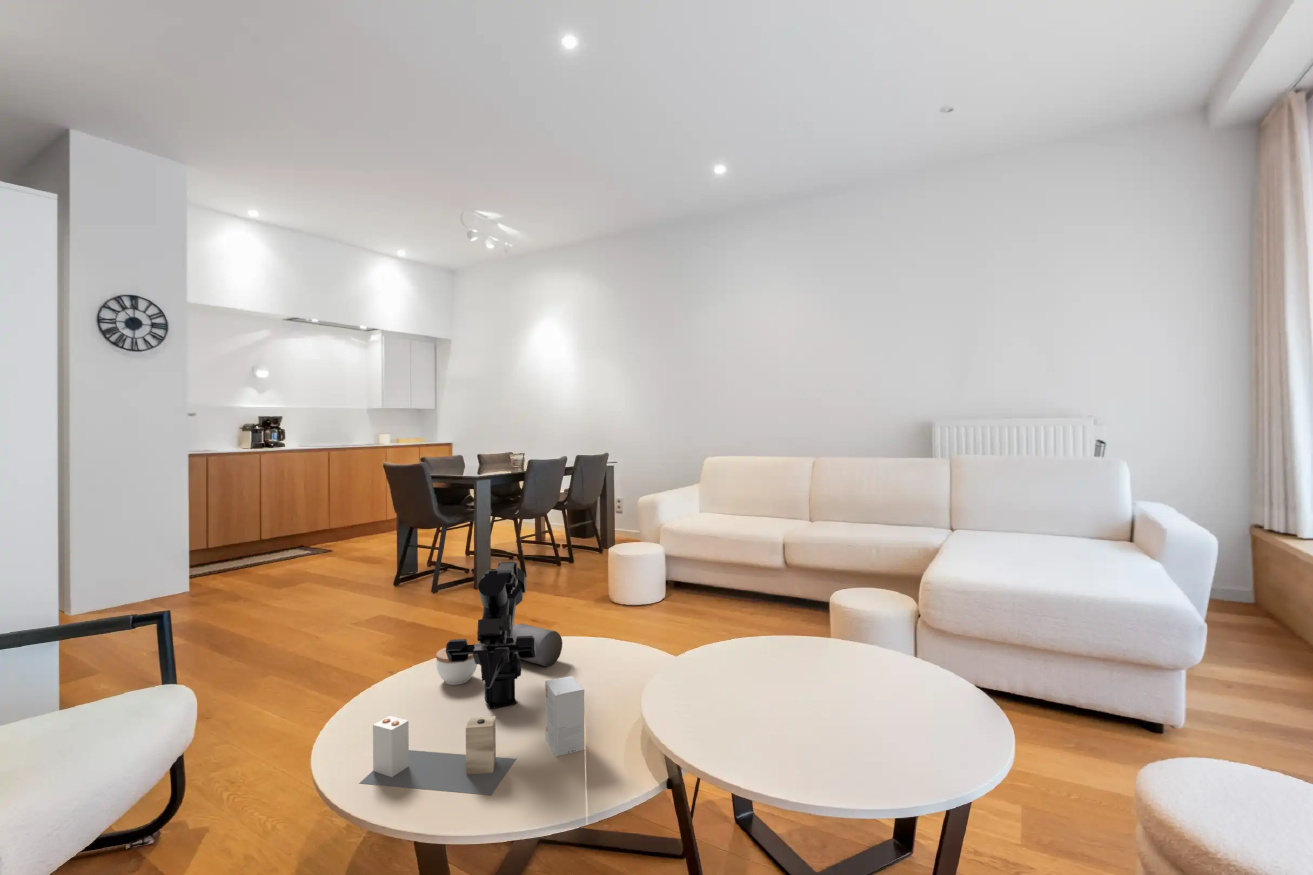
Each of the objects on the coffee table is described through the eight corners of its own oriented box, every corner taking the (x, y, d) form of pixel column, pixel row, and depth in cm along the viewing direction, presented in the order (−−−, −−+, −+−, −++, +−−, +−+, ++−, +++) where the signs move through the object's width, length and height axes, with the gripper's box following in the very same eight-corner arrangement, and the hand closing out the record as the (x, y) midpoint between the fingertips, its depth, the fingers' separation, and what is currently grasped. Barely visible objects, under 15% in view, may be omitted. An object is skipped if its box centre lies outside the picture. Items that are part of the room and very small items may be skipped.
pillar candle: (564, 657, 171) (527, 647, 179) (561, 625, 170) (524, 617, 178) (540, 672, 163) (503, 661, 171) (537, 639, 162) (499, 629, 170)
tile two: (390, 760, 117) (389, 714, 117) (408, 766, 115) (408, 719, 115) (373, 770, 113) (372, 723, 113) (391, 777, 111) (391, 728, 111)
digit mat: (516, 761, 118) (516, 758, 118) (491, 798, 106) (491, 794, 106) (396, 751, 121) (396, 748, 121) (359, 786, 109) (359, 783, 109)
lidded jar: (458, 669, 164) (458, 635, 164) (486, 676, 159) (486, 642, 159) (427, 683, 155) (426, 648, 155) (456, 691, 150) (456, 655, 150)
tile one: (469, 762, 116) (469, 716, 116) (495, 761, 117) (495, 714, 117) (466, 774, 112) (465, 726, 112) (492, 772, 113) (492, 724, 113)
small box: (585, 752, 121) (584, 689, 121) (555, 759, 118) (554, 695, 118) (573, 734, 128) (572, 674, 128) (544, 740, 126) (544, 680, 125)
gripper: (447, 603, 128) (435, 674, 117) (534, 599, 130) (530, 668, 119) (454, 627, 135) (444, 696, 125) (537, 623, 138) (533, 690, 127)
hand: (488, 687), depth 124 cm, fingers closed
